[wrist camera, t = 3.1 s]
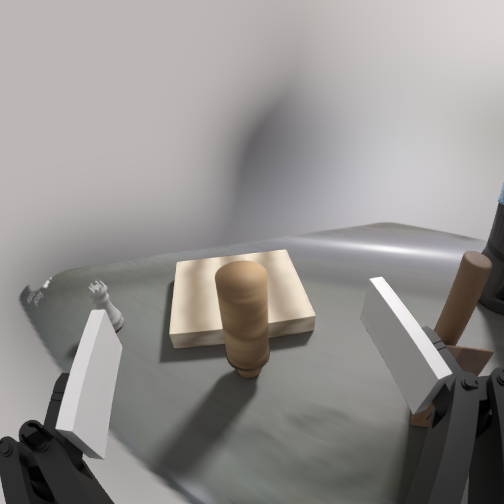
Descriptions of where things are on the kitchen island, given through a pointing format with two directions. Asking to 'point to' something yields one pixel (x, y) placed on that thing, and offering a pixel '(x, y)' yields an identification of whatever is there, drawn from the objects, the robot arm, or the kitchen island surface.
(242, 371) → the oak leg
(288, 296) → the birch board
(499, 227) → the robot arm
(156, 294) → the kitchen island surface
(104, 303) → the rook chess piece
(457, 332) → the wooden post with wedge
